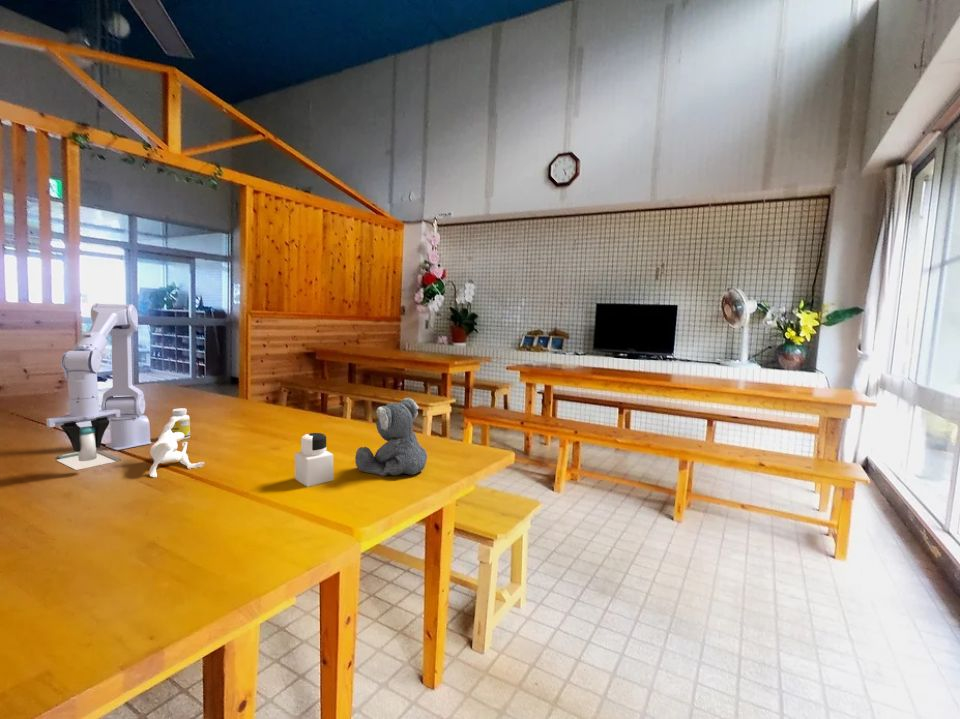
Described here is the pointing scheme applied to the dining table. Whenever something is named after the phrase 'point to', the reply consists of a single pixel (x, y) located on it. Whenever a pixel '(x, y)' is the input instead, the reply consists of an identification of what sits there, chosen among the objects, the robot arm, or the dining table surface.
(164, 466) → the dining table surface
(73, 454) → the green striped bar
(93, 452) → the white teal cylinder
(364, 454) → the koala plush
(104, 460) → the white rectangular slab
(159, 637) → the dining table surface
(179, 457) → the person figurine
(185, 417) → the supplement bottle
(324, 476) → the medicine bottle
